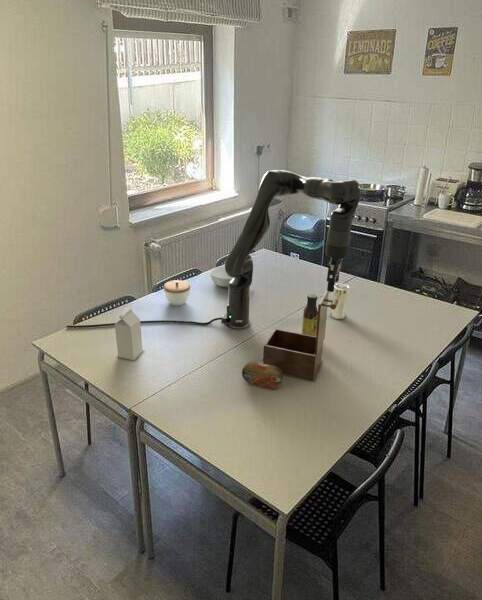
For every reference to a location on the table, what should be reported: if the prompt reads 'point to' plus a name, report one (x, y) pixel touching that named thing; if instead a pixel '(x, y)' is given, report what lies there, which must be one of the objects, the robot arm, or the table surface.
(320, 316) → the lid
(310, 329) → the sauce bottle
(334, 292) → the milkshake glass
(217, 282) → the cereal bowl
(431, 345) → the table surface
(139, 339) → the milk carton
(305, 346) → the chest
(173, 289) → the lidded bowl
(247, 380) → the tin
